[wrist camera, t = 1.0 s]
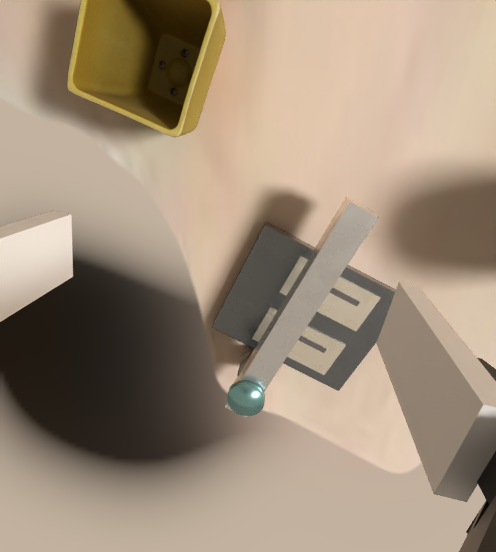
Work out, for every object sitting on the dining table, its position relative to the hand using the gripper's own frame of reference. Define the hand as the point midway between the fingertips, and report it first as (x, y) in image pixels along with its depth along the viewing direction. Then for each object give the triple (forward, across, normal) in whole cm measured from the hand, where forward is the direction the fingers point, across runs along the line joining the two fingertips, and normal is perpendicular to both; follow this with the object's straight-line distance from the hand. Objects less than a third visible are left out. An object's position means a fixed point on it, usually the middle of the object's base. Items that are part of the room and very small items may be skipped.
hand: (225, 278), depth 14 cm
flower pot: (+22, -10, +9) cm, 26 cm away
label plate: (+22, +6, -11) cm, 25 cm away
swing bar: (+17, +4, -10) cm, 20 cm away
